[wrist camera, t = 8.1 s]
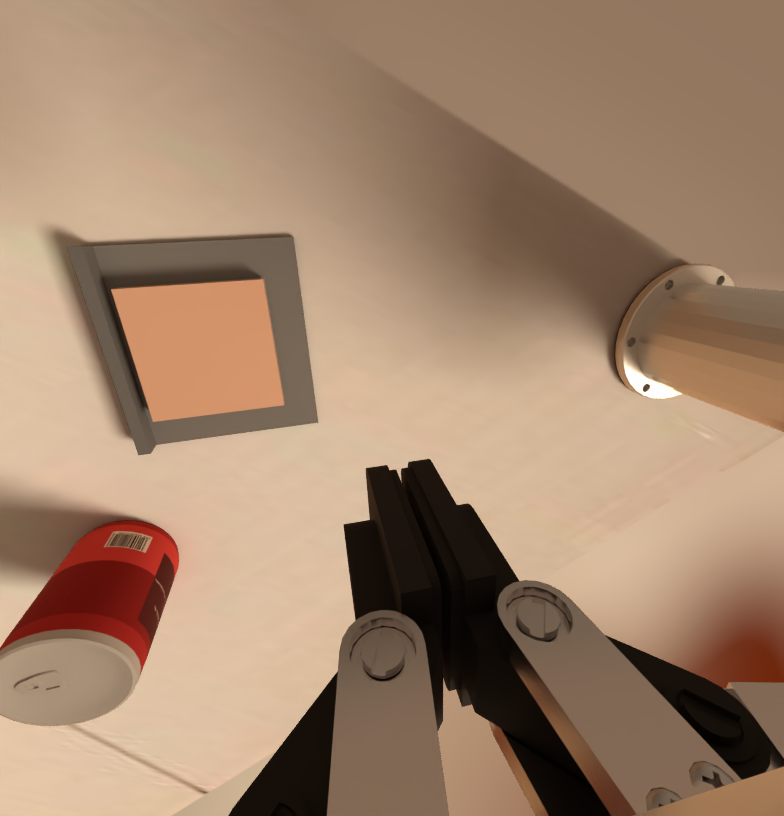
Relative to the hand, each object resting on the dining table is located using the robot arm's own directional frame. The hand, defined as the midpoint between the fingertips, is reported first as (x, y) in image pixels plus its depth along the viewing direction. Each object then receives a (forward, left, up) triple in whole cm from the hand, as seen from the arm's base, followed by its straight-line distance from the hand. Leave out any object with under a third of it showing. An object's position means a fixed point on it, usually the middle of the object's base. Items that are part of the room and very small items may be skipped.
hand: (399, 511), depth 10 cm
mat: (+8, 0, -22) cm, 24 cm away
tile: (+4, 0, -21) cm, 21 cm away
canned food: (+19, +17, -22) cm, 34 cm away
